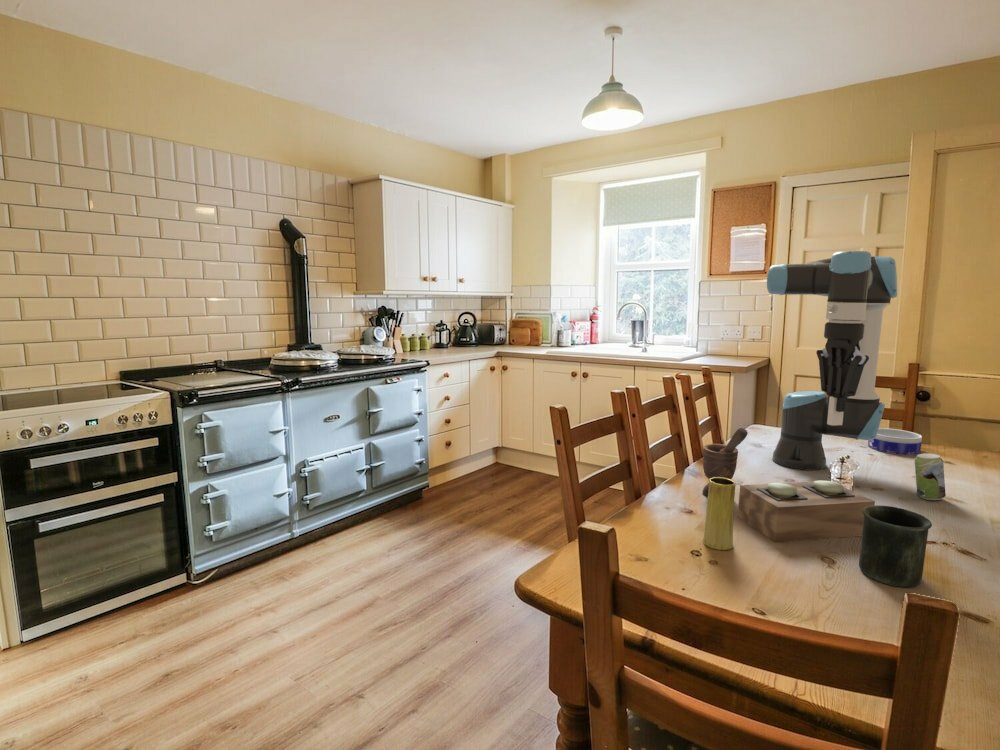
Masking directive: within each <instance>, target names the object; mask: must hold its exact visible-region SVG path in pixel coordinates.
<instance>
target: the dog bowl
mask: <svg viewBox="0 0 1000 750" xmlns="http://www.w3.org/2000/svg"><path fill="white" fill-rule="evenodd" d="M922 441H923V436H922V435H921V434H920V433H919V434H918V433H917V432H913V431H908V430H903V429H897V428H895V429H894V428H887V427H885V428H884V427H883V428H882V427H879V429H878V432H877V435H876V437H875V438H874V439H873V440H867V442H868V443H867V446H868V448H870V449H872V450H874V451H877V452H881V453H885V454H891V455H900V456H917V455H918V454H921V448H922V443H923V442H922Z"/></svg>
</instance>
